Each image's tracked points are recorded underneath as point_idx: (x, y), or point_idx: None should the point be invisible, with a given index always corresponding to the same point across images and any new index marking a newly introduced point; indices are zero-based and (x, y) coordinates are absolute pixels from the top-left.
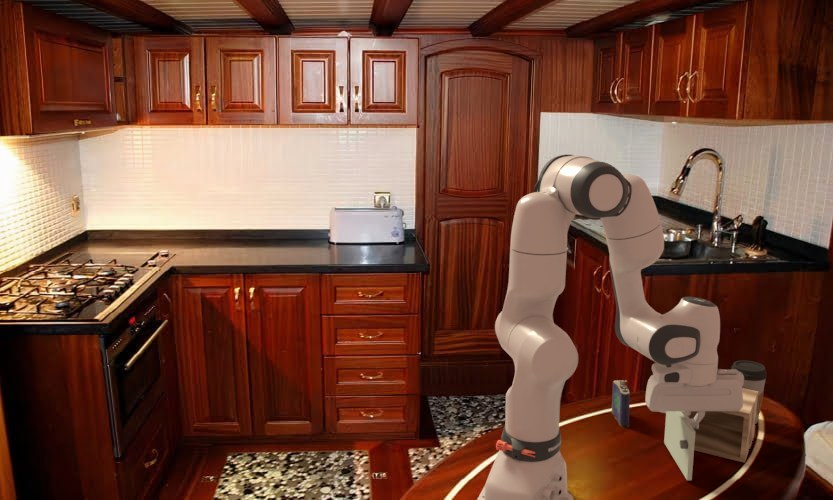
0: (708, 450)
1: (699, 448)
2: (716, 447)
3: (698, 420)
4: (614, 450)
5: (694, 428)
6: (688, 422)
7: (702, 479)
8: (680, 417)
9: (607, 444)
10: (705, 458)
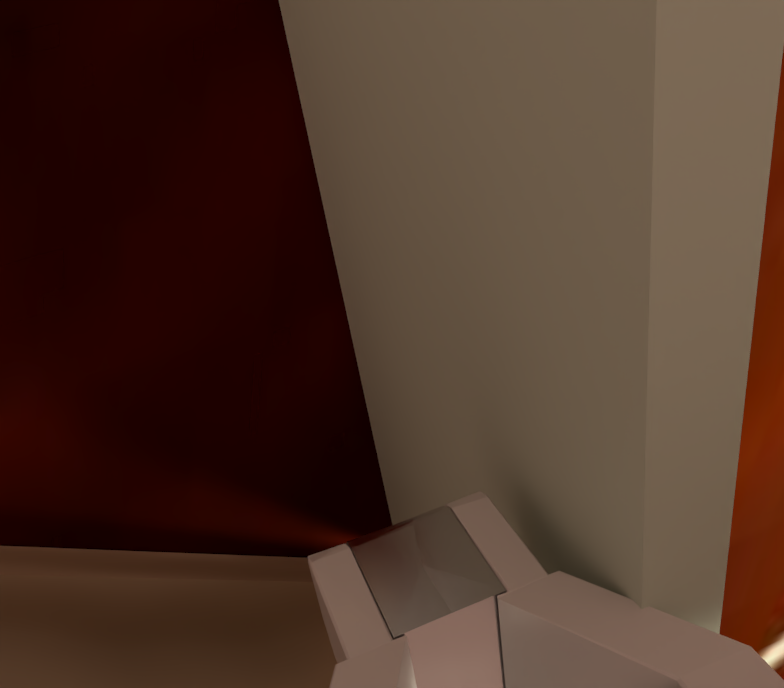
0: (78, 570)
1: (160, 571)
2: (2, 639)
3: (376, 685)
4: (762, 335)
5: (377, 532)
6: (654, 469)
7: (135, 41)
8: (712, 617)
9: (777, 396)
10: (103, 465)
